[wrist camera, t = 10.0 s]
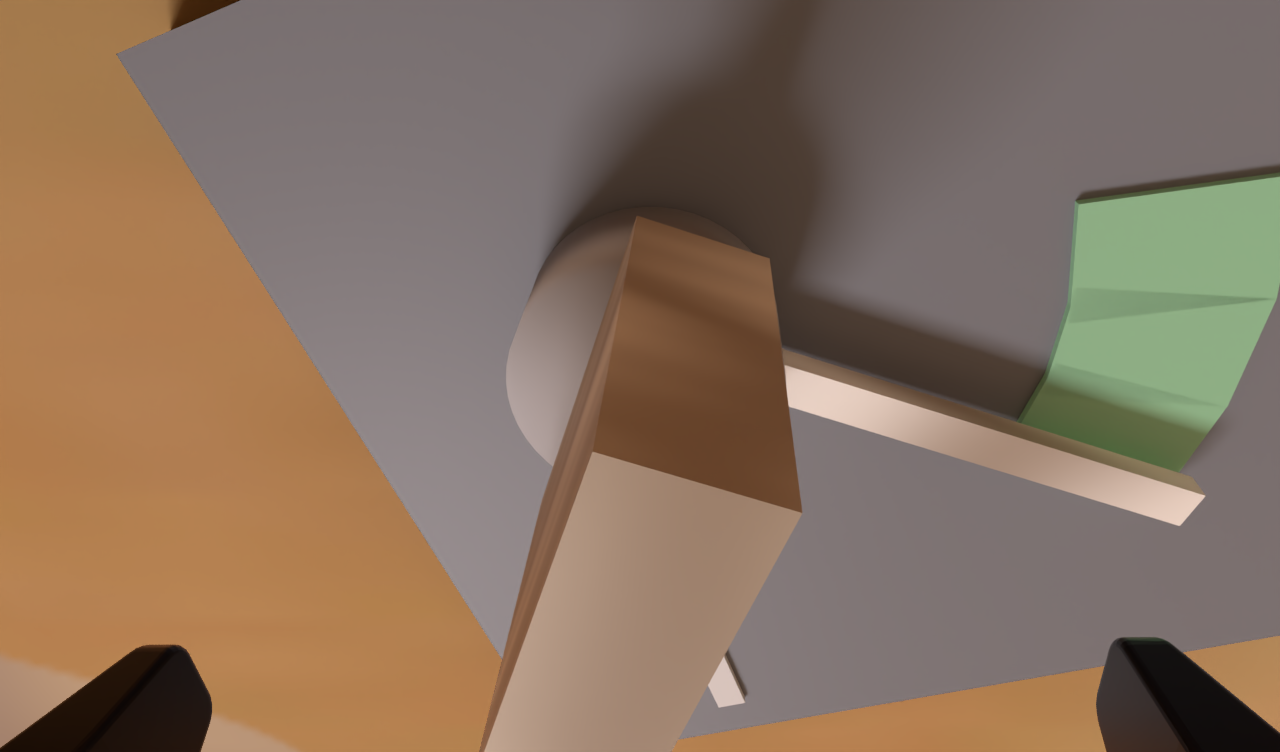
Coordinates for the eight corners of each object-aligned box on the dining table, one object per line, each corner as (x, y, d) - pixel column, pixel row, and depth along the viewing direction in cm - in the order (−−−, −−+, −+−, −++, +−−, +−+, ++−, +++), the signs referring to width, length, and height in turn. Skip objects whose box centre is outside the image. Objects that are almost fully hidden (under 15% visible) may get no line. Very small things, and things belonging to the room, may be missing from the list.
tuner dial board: (169, 32, 14) (111, 56, 13) (1574, -576, 10) (1718, -640, 8) (573, 705, 22) (564, 764, 21) (1446, 541, 18) (1508, 603, 17)
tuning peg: (499, 409, 16) (368, 772, 10) (574, 140, 13) (458, 411, 7) (1094, 584, 17) (1302, 1003, 11) (1272, 370, 14) (1674, 768, 8)
